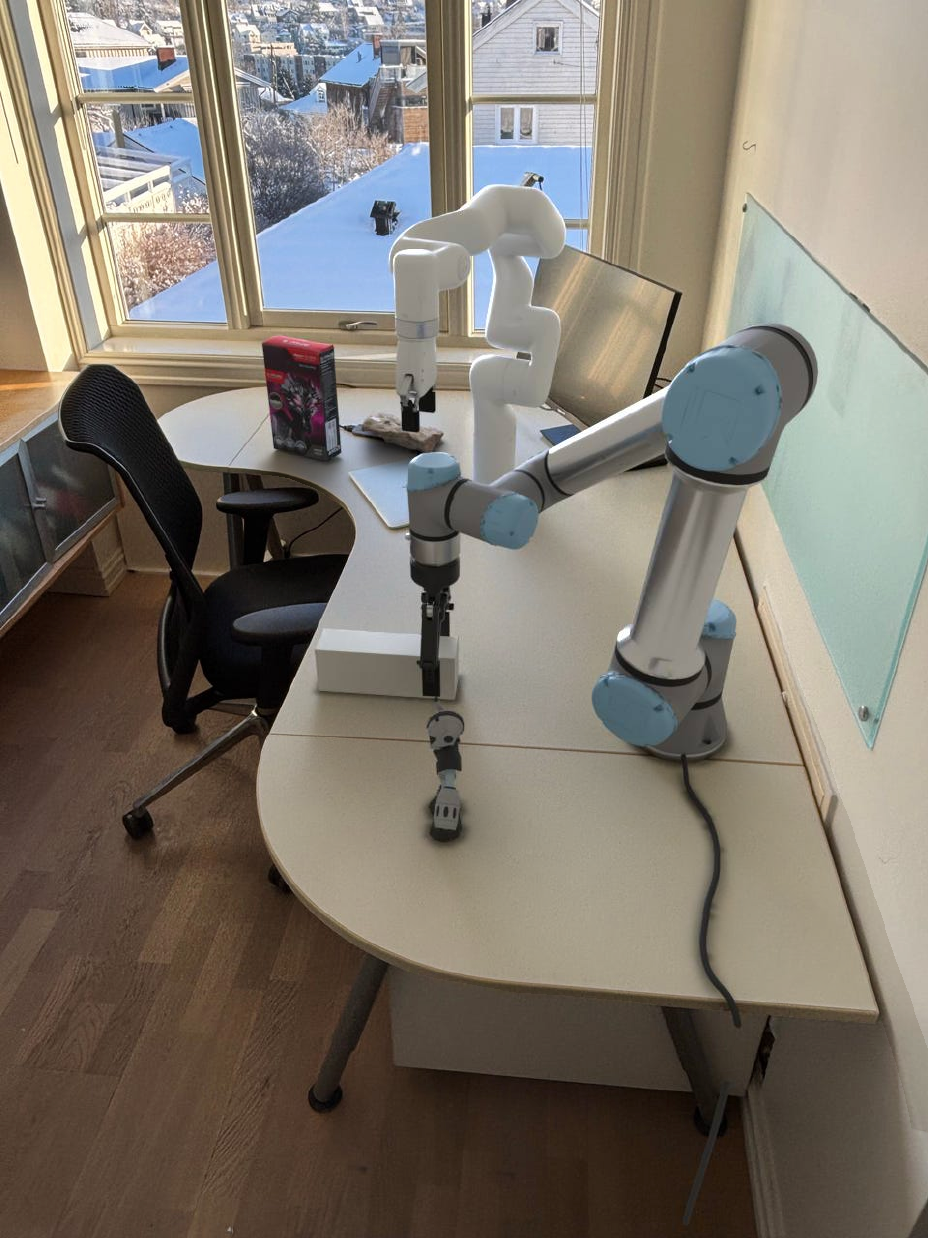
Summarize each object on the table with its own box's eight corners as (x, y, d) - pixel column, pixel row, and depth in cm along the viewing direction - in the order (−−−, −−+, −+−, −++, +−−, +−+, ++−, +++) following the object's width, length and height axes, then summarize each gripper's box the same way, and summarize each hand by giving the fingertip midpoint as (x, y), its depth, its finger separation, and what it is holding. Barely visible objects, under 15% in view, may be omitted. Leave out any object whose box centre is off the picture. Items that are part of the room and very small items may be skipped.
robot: (467, 874, 119) (468, 759, 108) (429, 876, 119) (427, 760, 108) (460, 769, 135) (460, 659, 124) (426, 770, 135) (424, 660, 124)
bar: (458, 677, 154) (458, 636, 149) (454, 700, 149) (455, 658, 144) (326, 669, 156) (323, 628, 151) (318, 690, 151) (314, 649, 146)
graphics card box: (271, 449, 231) (258, 341, 215) (288, 440, 236) (276, 333, 220) (327, 463, 224) (318, 352, 209) (343, 453, 229) (336, 344, 214)
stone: (345, 437, 230) (349, 413, 227) (367, 428, 243) (371, 405, 241) (423, 461, 226) (429, 437, 224) (441, 451, 239) (446, 428, 237)
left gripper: (412, 311, 166) (414, 402, 176) (379, 339, 153) (383, 436, 162) (452, 315, 165) (451, 406, 174) (423, 343, 151) (424, 441, 160)
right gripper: (421, 515, 148) (424, 624, 160) (396, 598, 128) (402, 716, 139) (467, 517, 148) (467, 627, 159) (450, 601, 127) (451, 719, 139)
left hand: (419, 421), depth 168 cm, fingers open, 9 cm apart
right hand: (436, 669), depth 149 cm, fingers open, 13 cm apart
